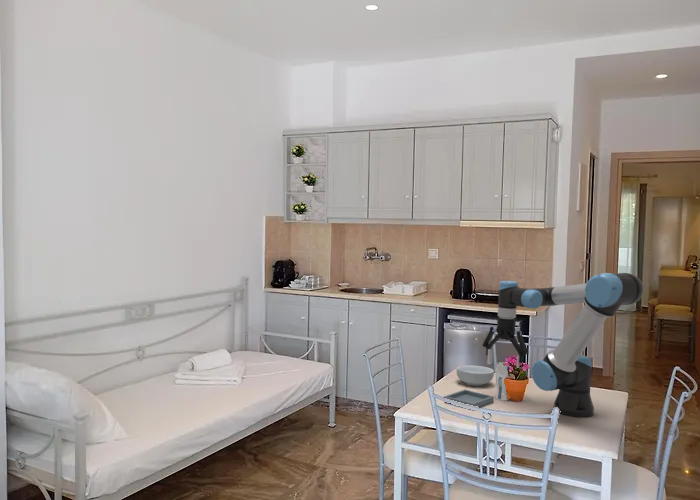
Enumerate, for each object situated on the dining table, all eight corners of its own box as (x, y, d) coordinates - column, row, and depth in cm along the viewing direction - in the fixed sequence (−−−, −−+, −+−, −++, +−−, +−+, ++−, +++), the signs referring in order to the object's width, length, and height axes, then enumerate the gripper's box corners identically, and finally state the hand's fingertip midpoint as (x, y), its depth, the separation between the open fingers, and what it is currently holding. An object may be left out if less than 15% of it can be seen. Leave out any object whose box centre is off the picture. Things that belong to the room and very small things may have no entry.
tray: (493, 402, 253) (493, 396, 253) (473, 410, 241) (473, 404, 241) (464, 395, 262) (464, 389, 262) (443, 402, 251) (443, 396, 251)
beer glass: (513, 401, 255) (514, 366, 255) (496, 400, 256) (498, 365, 255) (509, 396, 262) (510, 362, 262) (493, 396, 262) (494, 361, 262)
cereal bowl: (498, 383, 284) (499, 368, 284) (486, 391, 270) (486, 375, 270) (463, 377, 293) (464, 362, 293) (450, 384, 279) (451, 369, 279)
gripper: (538, 320, 252) (535, 371, 253) (485, 312, 269) (482, 360, 270) (530, 322, 246) (527, 374, 247) (476, 314, 263) (473, 362, 264)
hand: (503, 367), depth 259 cm, fingers open, 13 cm apart
